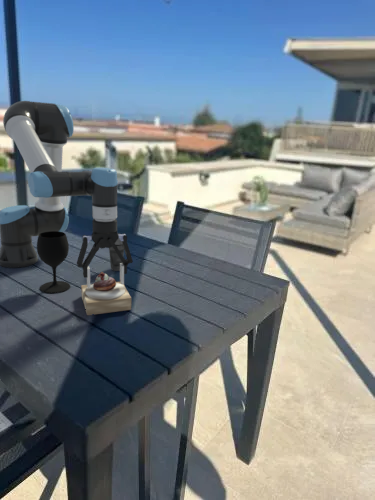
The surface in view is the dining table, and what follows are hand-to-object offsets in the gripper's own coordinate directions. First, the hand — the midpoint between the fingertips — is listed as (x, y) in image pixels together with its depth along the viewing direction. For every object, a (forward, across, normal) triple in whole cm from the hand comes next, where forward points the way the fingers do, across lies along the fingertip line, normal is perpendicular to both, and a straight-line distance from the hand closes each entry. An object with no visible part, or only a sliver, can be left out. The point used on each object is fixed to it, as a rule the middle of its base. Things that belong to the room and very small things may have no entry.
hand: (105, 284), depth 116 cm
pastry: (+2, 0, +2) cm, 3 cm away
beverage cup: (+7, +10, +30) cm, 32 cm away
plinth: (+7, 0, 0) cm, 7 cm away
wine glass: (+7, -15, +17) cm, 24 cm away
